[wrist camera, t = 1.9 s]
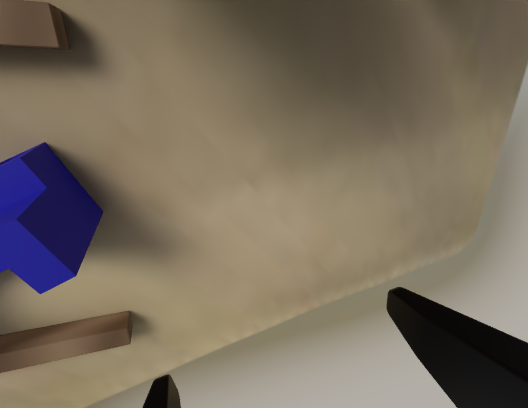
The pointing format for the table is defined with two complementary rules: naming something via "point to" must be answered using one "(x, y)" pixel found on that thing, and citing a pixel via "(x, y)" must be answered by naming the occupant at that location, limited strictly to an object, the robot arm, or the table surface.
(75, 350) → the brown wooden bars
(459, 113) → the table surface
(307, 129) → the table surface
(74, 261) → the cable clip
